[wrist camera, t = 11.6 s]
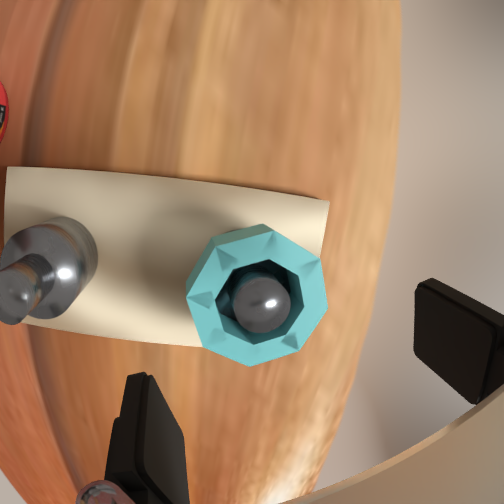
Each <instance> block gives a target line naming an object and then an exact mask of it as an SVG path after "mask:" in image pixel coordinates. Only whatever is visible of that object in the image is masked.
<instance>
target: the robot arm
mask: <svg viewBox="0 0 504 504" xmlns="http://www.w3.org/2000/svg"><path fill="white" fill-rule="evenodd" d="M414 318H415V319H414V346H413V347H414V353H415V355H416V356H417V357H418V358H419V359H420V360H421V361H422V362H423V363H425V364H426V365H427V366H428V367H429V368H430V369H432V370H433V371H434V372H435V373H436V374H437V375H438V376H440V377H441V378H442V379H443V380H444V381H445V382H447V383H448V384H449V385H450V386H451V387H452V388H453V389H454V390H456V391H457V392H458V393H459V394H460V395H461V396H463V397H464V398H465V399H466V400H467V401H468V402H469V403H471V404H475V405H476V406H475V407H474V408H472V409H471V410H469V411H468V412H466V413H465V414H464V415H462V416H461V417H459V418H458V419H456V420H455V421H453V422H452V423H450V424H449V425H447V426H446V427H444V428H442V429H441V430H439V431H438V432H436V433H435V434H433V435H431V436H430V437H428V438H426V439H425V440H423V441H421V442H420V443H418V444H416V445H414V446H413V447H411V448H409V449H407V450H406V451H404V452H402V453H400V454H398V455H396V456H394V457H392V458H390V459H389V460H387V461H385V462H383V463H381V464H378V465H376V466H374V467H372V468H370V469H368V470H366V471H364V472H362V473H359V474H357V475H355V476H353V477H351V478H348V479H346V480H343V481H341V482H339V483H336V484H334V485H331V486H329V487H326V488H323V489H321V490H318V491H315V492H313V493H310V494H307V495H304V496H301V497H298V498H295V499H292V500H289V501H286V502H282V503H279V504H504V315H502V314H501V313H499V312H497V311H495V310H493V309H491V308H490V307H488V306H486V305H484V304H482V303H480V302H478V301H477V300H475V299H473V298H471V297H469V296H467V295H465V294H463V293H461V292H459V291H457V290H456V289H454V288H452V287H450V286H448V285H446V284H444V283H442V282H440V281H438V280H436V279H434V278H430V279H427V280H425V281H423V282H420V283H419V284H418V286H417V288H416V290H415V317H414ZM76 504H190V501H189V491H188V481H187V470H186V458H185V444H184V436H183V433H182V430H181V428H180V427H179V425H178V423H177V421H176V419H175V418H174V416H173V414H172V412H171V410H170V408H169V406H168V404H167V403H166V401H165V399H164V397H163V395H162V393H161V391H160V389H159V387H158V385H157V383H156V381H155V379H154V377H153V376H152V375H147V374H146V373H145V372H141V373H136V374H132V375H128V376H127V380H126V385H125V390H124V395H123V401H122V406H121V411H120V417H117V418H115V420H114V423H113V428H112V433H111V439H110V445H109V451H108V457H107V464H106V470H105V477H104V480H98V481H94V482H91V483H90V484H88V485H86V486H85V487H84V488H83V489H81V491H80V492H79V494H78V495H77V498H76Z"/></svg>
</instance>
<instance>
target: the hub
mask: <svg viewBox="0 0 504 504" xmlns="http://www.w3.org/2000/svg"><path fill="white" fill-rule="evenodd" d="M236 230H240V229H236ZM236 230H232V231H236ZM232 231H229V232H232ZM226 233H228V232H226ZM224 234H225V233H224ZM290 292H291V290H290V285H289V280H288V275H287V271H286V268H284V267H283V266H281V265H279V264H277V263H276V262H274V261H272V260H270V259H267V260H264V261H260V262H257V263H253V264H249V265H246V266H242V267H239V268H235V269H233V270H232V272H231V274H230V275H229V277H228V279H227V280H226V282H225V284H224V285H223V287H222V289H221V290H220V292H219V294H218V295H217V297H216V299H215V301H216V304H217V307H218V311H219V313H221V314H223V315H225V316H227V317H229V318H231V319H233V320H235V321H237V322H239V323H240V325H241V326H242V327H244V328H245V329H247V330H248V331H251V332H255V333H265V332H269V331H272V330H274V329H276V328H277V327H279V326H280V325H281V324H282V323H283V322H284V321H285V320H286V318H287V316H288V314H289V312H290V306H291V302H290V297H289V294H290Z"/></svg>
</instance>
